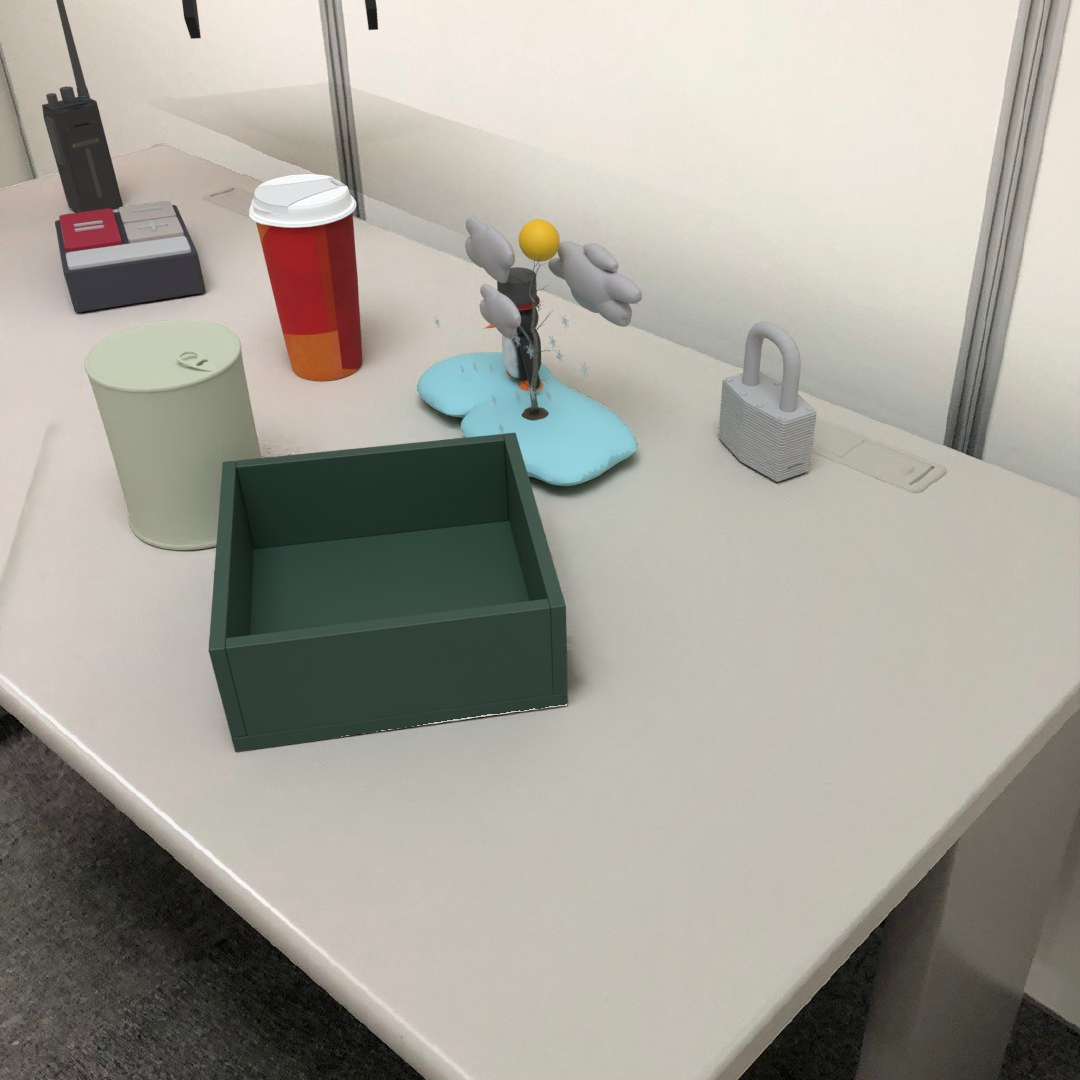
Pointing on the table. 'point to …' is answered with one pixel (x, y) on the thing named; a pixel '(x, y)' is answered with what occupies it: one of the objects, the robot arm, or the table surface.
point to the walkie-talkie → (80, 140)
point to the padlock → (768, 410)
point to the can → (173, 424)
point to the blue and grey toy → (535, 358)
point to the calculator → (127, 256)
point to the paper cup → (312, 271)
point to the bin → (382, 591)
